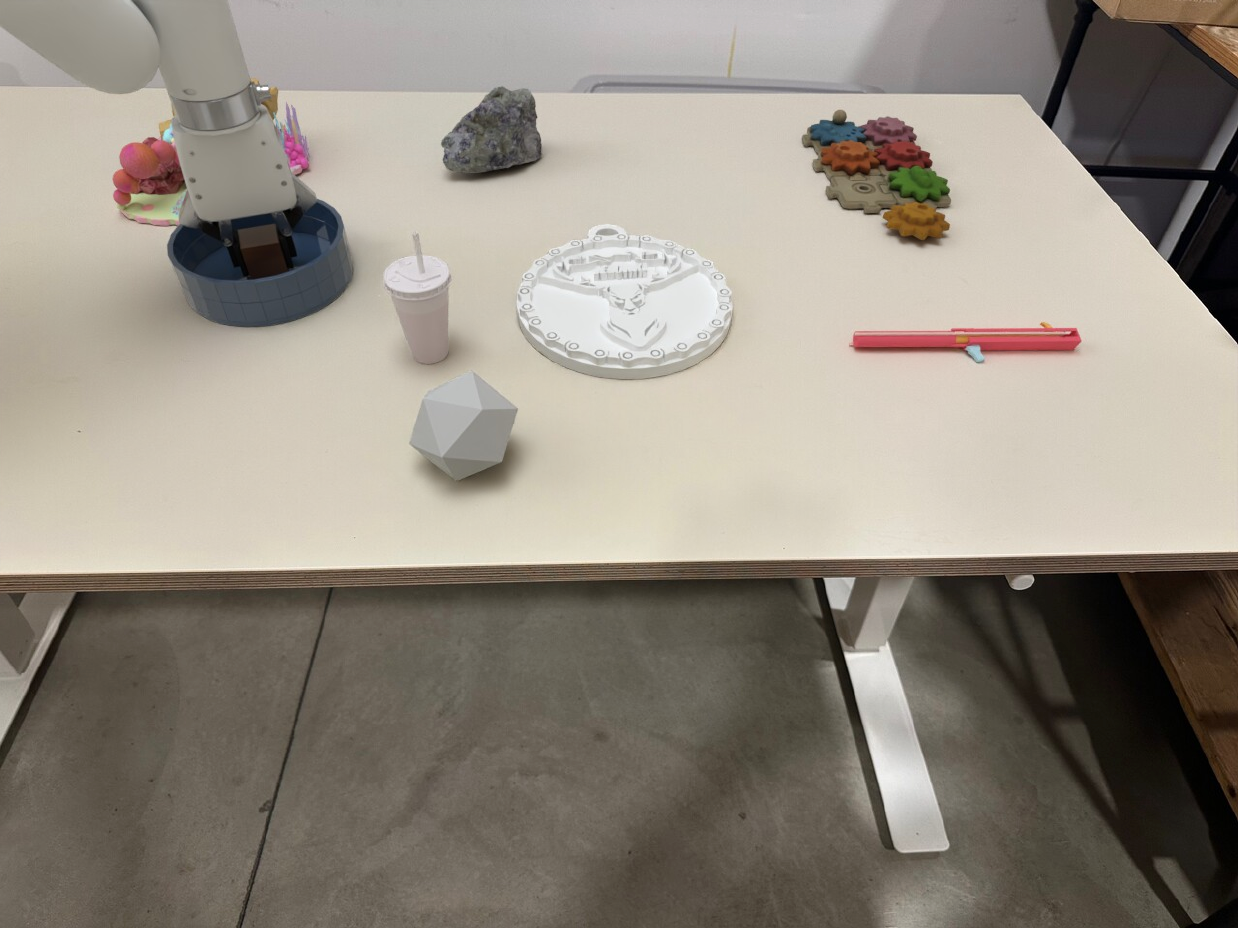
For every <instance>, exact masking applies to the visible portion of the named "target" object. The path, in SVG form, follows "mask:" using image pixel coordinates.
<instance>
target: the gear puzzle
mask: <svg viewBox="0 0 1238 928" xmlns="http://www.w3.org/2000/svg"><path fill="white" fill-rule="evenodd" d="M847 119H848V115H847V112H846V111H845V110H843V109H837V110H835V111H834V113H833V114H832V120H830V119H820V120H819V123H813V124H811V125H810V126H808V127H807V128H806V129H807V130H806V134H802V136H801V142H802V144H803V146H804V147H811V146H812V147H813V148H814V151H815V152H816V154H817V158H814V159H812V163H811V165H812V168H813V169H814V171H815V172H817V173H818V172H824V173H825V176H826V178H827V179H828V180H829V181H830V185H826V187H825V194H826V197H827V198H828V199H830V200H832V199H837V201H838V202H839V204H840V206H841V207H842V208H844V209H847V210H848V209H863V213H864V214H880V213H881V211H882V209H890V210H887V211H884V212H883V214H882V219H883V220H885V221H887V223H886V229H891V230H896V231H898V233H899V235H900V236H901V237H910V236H913V237H915V238H916V239H918V240H920V241H925V240H926V239H927V238H928V237H932V238H936V239H937V238H939V239H940V238H942V236H943V232H947V231H949V230H950V227H951V224H950V223H949V222H948V221H946V220H945V219H946V214H944V213H941V212H938V211H937V208H945V207H950V205H951V203H952V198H951V197H950V195H949V194H950V191H951V189H950V187H949V186H948V182H949V180H948V179H947V178H945V177H942V176H939V175H938V174H937V172H936V171H935V170H933V169H932V168H931V167H932V166H933V164H934V161H933V160H932V159H931V153H930V152H928V151H926V150H922V147H921V146H920V145H917V144H916V143H915V141H917V138H918V135H917V134H916V133H914V131H915V130H914V129H915V128H914V127H913V126H910V125H907V124H906V122H905V121H904V120H900V119H899V118H898V117H891V116H889V115H888V116H885V117H882V116H880V117H878V118H877V119H868V120H867V122H866V123H865V124H862V125H858V126H857V125H856V124H855V122H854V121H846V120H847Z"/></svg>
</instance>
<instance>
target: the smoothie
mask: <svg viewBox="0 0 1238 928" xmlns="http://www.w3.org/2000/svg"><path fill="white" fill-rule="evenodd" d="M411 234H412V241H413V248H414V253H415V254H413V255H407V256H404V257H401V258H397V259H396V260H394V261H392V262H391V263H389V264H388V265H387V266H386V268H385V269H384V271H383V273H382V280H383V288H384V290H385V291H386V292H387V293H388V294H389V295H390V297H391V300H392V303H393V306H394V308H395V312H396V314H397V317H398V320H399V322H400V325H401V328H402V331H403V334H404V336H405V339H406V342H407V345H408V347H409V350H410V353H411V355H412V358H413V359H414V361H416V362H418V363H420V364H425V365H430V364H436V363H440V362H441V361H443V360H445V359H446V358H447V356H448V355H449V297H450V295H449V287H450V286H451V283H452V274H451V269H450V266H449V265H448V264H447V263H446V262H445V261H444V260H443V259H441V258H439V257H436V256H432V255H428V254H423V251H422V247H421V242H420V241H421V240H420V235H419V231H412V232H411Z"/></svg>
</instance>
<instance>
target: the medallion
mask: <svg viewBox="0 0 1238 928" xmlns="http://www.w3.org/2000/svg"><path fill="white" fill-rule="evenodd" d="M714 264H715V263H714V262H713V261H712V260H710V259H707V258H704V257H702V256H701V255H700V254H699V253H698V251H696V249H693V248H687V247H685V246H682V245H679V244H677V243H676V241H674V240H671V239H659V238H656V237H654V236H652V235H649V234H644V235H634V234H633V235H632V234H628V233H627V231H626V229H624V228H623V227H621V226H619V225H616V224H611V223H602V224H598V225H595V226H593V227H591V228H590V229H589V230H588V232H587V238H582V239H580V240H579V239H572V240H570V241H568V242H567V243H566V244H564V245H561V246H558V247H557V246H556V247H551V248H550V249H549V250H548V252H547V253H546V254H545V255H544V256H542V257H540V258H536V259H534V260H533V261H532V266H531V267H530V269H529V270H527V271H525V272H524V273H523V274H522V275H521V277H522V278H521V280H522V281H521V283H520V285H519V287H518V289H517V294H516V314H517V320H518V323H519V328H520V330H521V332H522V333H523V335H524V337H525V339H526V340H527V341H528V343H530V345H531V346H533V348H534V349H535V350H536V351H537V352H539V353H540V354H541V355H542V356H545V357H546V358H547V359H549V360H550V361H552V362H553V363H556V364H558V365H560V366H562V367H564V368H566V369H568V370H572V371H574V372H577V373H580V374H583V375H589V376H593V377H597V378H598V377H599V378H603V379H613V380H644V379H652V378H659V377H665V376H668V375H672V374H674V373H678V372H682V371H684V370H687V369H689V368H691V367H693V366H695V365H697V364H699V363H700V362H702V361H704V360H705V359H707V358H708V357H710V356H711V355H713V353H714V352H715V351H716V350H717V349H718V348H719V347H721V345H722V343H723V342H724V340H726V337H727V336H728V333H729V330H730V327H731V324H732V317H733V307H734V306H733V305H734V304H733V298H732V297H733V296H732V295H733V291H732V289H730V288H729V287H728V285H727V283H726V280H727V279H726V277H727V276H726V275H725V274H723V273H722V272H720V271H719V270H717V268H716V267H715V265H714Z"/></svg>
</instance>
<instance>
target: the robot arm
mask: <svg viewBox="0 0 1238 928" xmlns="http://www.w3.org/2000/svg"><path fill="white" fill-rule="evenodd" d="M231 10H232V9H231V6H230V3H229V0H0V28H2V29H3V30H4V31H6V32H7V33H8V34H10V35H11V36H13V38H16V39H17V40H18V41H19V42H21V43H23V44H24V45H25V46H27V47H28V48H29V49H31V50H32V51H34V52H35V53H37V54H38V55H40V56H41V57H42V58H44V59H45V60H47V61H48V62H49V63H51V64H52V65H53V66H55V67H56V68H57V69H59V70H61V71H62V72H64V73H65V74H66V75H68V76H70V77H71V78H72V79H74V80H75V81H77V82H78V83H81V84H82V85H84V86H86V87H87V88H90V89H93V90H95V91H98V92H101V93H104V94H105V93H106V94H109V95H128V94H132V93H136V92H138V91H140V90H142V89H143V88H146V86H148V84H150V83H151V82H152V81H153V79H154V77H155V76H156V75H157V72H158V70H159V72H160V76H161V78H162V82H163V84H164V86H165V89H166V91H167V95H168V98H169V101H170V104H171V103H172V106H173V109H174V112H175V114H176V116H174V117H173V116H172V118H171V119H170V120H171V123H172V132H173V137H174V142H175V147H176V150H177V154H178V159H179V162H180V166H181V170H182V173H183V176H184V180H185V183H186V186H187V192H186V195H185V198H184V201H183V203H182V206H181V209H180V212H179V223H180V224H181V225H183V226H186V227H189V228H193V229H196V230H201V231H202V232H203V233H205V234H207V235H209V236H211V237H213V238H215V239H217V240H219V241H221V243H222V244H223V245H224V246H227V249H228V252H229V255H230V258H231V260H232V263H233V266H234V268H235V267H240V268H241V271H242V274H243V277H248V276H249V273H248V270H247V267H246V264H245V261H244V258H243V255H242V252H241V249H240V242H239V235H238V233H236V231H235V230H234V229H232V223H231V219H238V218H244V217H250V216H256V215H262V214H268V213H271V215H272V217H273V219H274V221H275V222H276V224H277V227H276V231H277V235H278V239H279V242H280V246H281V249H282V252H283V256H284V259H285V262H286V265H287V268H289V269H292V268H294V267H293V262H292V257H297V252H296V248H295V245H294V241H293V238H292V233H293V229H294V227H295V226H296V225H297V223H298V222H299V220H300V219H301V218H302V216H303V214H304V213H305V212H307V211H308V210H309V209H310V208H311V207H313V206H314V205H315V204H316V203H317V199H318V198H317V195H316V194H317V193H316V192H315V191H314V190H313V189H311V187H309V186H308V185H307V184H306V183H305V182H303V180H301V179H300V178H299V177H298V176H297V175H294V174H293V173H292V172H291V169H290V166H289V163H288V160H287V157H286V154H285V151H284V148H283V145H282V142H281V139H280V136H279V134H278V131H277V129H276V123H275V122H274V120H272V118H271V116H270V114H269V112H268V110H267V108H266V107H265V106H264V105H262V104H261V103H260V102H264V100H269V99H272V98H271V94H270V90H269V88H270V87H269V84H256V85H255V82H254V81H253V82H251V79H250V78H251V76H250V73H249V68H248V65H247V62H246V59H245V56H244V52H243V49H242V45H241V41H240V38H239V35H238V32H237V27H236V24H235V20H234V17H233V13H232V11H231ZM172 106H171V107H172ZM296 195H297V196H298V198H296ZM218 221H219V222H218Z"/></svg>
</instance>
